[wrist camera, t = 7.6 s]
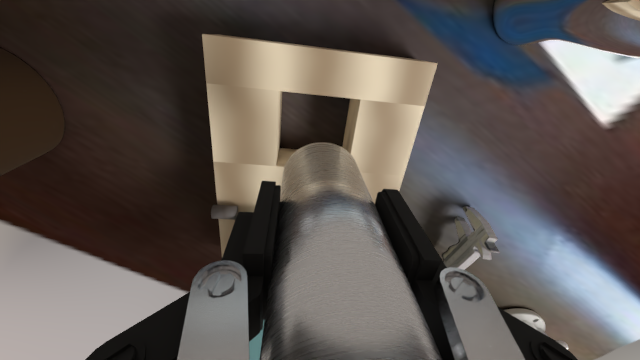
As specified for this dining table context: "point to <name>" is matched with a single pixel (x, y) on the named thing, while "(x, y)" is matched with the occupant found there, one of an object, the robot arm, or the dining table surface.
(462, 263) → the caliper
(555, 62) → the dining table surface
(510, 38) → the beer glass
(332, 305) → the steel peg
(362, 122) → the wooden block
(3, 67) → the olive oil
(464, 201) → the dining table surface
